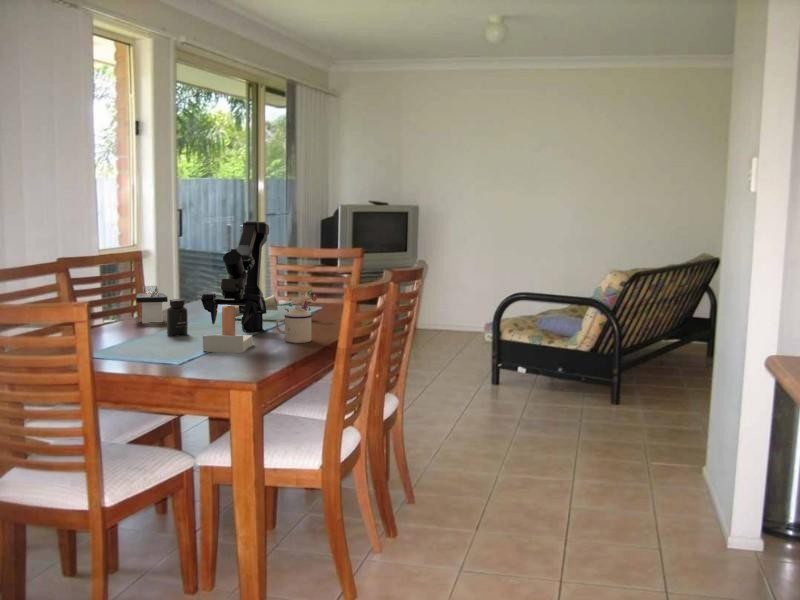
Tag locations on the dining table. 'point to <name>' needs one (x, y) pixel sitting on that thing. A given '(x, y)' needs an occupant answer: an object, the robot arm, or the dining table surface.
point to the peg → (228, 320)
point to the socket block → (226, 343)
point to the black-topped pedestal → (151, 305)
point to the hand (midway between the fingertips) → (227, 324)
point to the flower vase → (272, 304)
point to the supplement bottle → (177, 318)
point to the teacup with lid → (297, 326)
